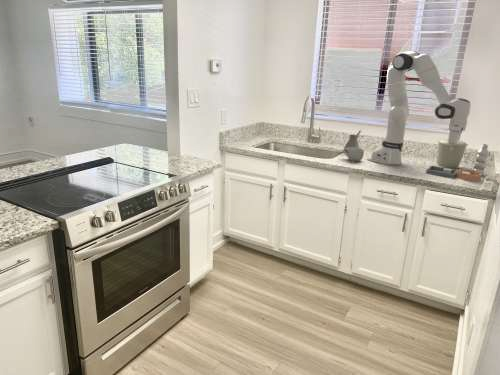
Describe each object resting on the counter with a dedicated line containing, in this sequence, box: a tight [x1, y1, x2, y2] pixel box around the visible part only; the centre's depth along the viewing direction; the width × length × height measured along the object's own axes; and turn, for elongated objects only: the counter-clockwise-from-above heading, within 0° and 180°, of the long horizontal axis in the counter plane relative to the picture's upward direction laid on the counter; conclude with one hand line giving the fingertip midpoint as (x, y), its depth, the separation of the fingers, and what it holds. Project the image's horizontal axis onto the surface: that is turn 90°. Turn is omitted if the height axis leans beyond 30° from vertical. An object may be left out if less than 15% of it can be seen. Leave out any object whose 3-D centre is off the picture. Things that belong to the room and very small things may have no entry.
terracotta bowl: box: [456, 169, 482, 182], centre depth 227 cm, size 12×12×4 cm
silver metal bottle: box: [472, 143, 490, 177], centre depth 233 cm, size 6×7×20 cm
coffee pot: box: [343, 130, 363, 154], centre depth 284 cm, size 21×12×15 cm, turn 146°
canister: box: [436, 138, 469, 169], centre depth 252 cm, size 18×18×21 cm
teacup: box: [342, 147, 365, 162], centre depth 260 cm, size 14×11×8 cm
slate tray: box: [425, 165, 459, 179], centre depth 235 cm, size 16×14×3 cm
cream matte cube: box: [443, 167, 453, 174], centre depth 233 cm, size 4×4×3 cm
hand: (452, 149), depth 229 cm, fingers open, 8 cm apart
